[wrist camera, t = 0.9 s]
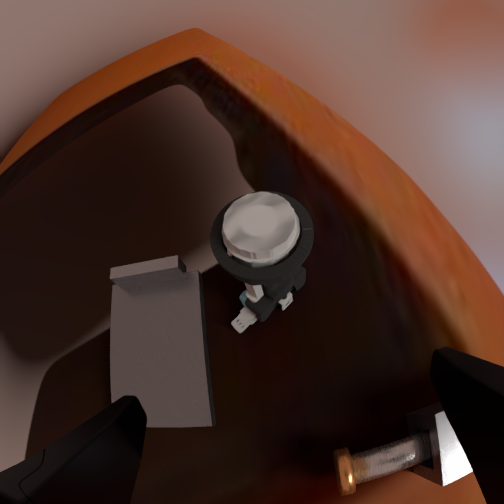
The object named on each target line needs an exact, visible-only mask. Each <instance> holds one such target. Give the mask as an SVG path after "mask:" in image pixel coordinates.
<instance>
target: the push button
mask: <svg viewBox="0 0 504 504" xmlns="http://www.w3.org/2000/svg"><path fill="white" fill-rule="evenodd" d="M299 234H300V237H301V241H300V244H299V246H298V248H297V249H296V241H297V238H298V236H299ZM313 237H314V228H313V223H312V220H311V217H310V215H309V213H308V212H307V210H306V209H305V208H304V207H303V206H302V205H301V204H300V203H299V202H298V201H296V200H295V199H293V198H292V197H290V196H287V195H285V194H282V193H278V192H272V191H259V192H253V193H249V194H245V195H243V196H240V197H238V198H236V199H235V200H233V201H231V202H230V203H229V204H227V205H226V206H225V207H224V208H223V209H222V210H221V211H220V213H219V214H218V215H217V217H216V219H215V221H214V223H213V225H212V228H211V234H210V242H211V248H212V251H213V253H214V256H215V257H216V259H217V261H218V263H219V264H220V265H221V266H222V267H223V268H224V270H226V271H227V272H228V273H230V274H231V275H233V276H234V277H235V278H236V279H237V280H240V281H242V282H244V283H245V285H246V288H247V289H246V290H245V291H244V292H243V293H242V294H241V295H240V300H241V302H242V304H243V306H244V308H243V309H242V310H241V311H240V312H241V313H240V314H239V315H238V316H237V317H236V318H235V319H234V320H233V321H232V322H231V324H232V325H233V326H234V328H235V329H236V330H237V331H238V332H239V333H242V332H243V331H244V330H245V329H246V328H247V327H248V326H249V325H250V324H252V325H253V324H254V323H255V322H256V321H257V320H259V321H260V322H262V321H265V320H266V319H267V318H268V317H269V316H270V314H271V312H272V311H273V310H274V309H275V308H276V307H277V306H278V304H279V303H280V304H281V305H282V310H285V308H286V307H287V306H288V305H289V304H290V303H291V302H292V293H290V292H291V291H292V290H293V289H296V290H297V291H298V290H299V289H300V288H301V287H302V286H303V285H304V283H305V278H306V269H305V268H303V267H302V266H301V265H302V263H303V262H304V261H305V260H306V258H307V257H308V255H309V253H310V251H311V248H312V244H313ZM227 248H228V250H229V251H230V252H231V253H232V254H233V257H234V259H235V261H234V260H233V259H232V258H230V256H229V255H228V254H227ZM287 303H288V304H287ZM286 304H287V305H286ZM237 320H239V321H238V322H237ZM240 323H242V324H240ZM239 324H240V325H239ZM243 326H244V327H243ZM242 327H243V328H242Z"/></svg>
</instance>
